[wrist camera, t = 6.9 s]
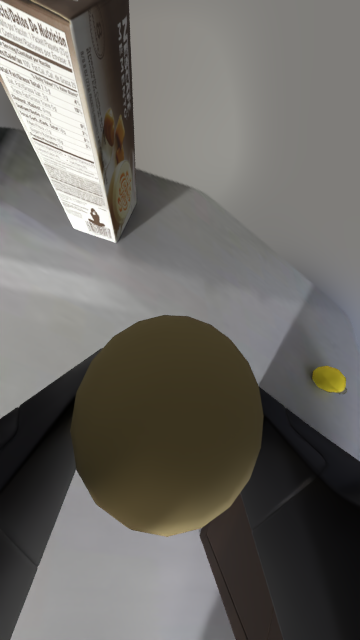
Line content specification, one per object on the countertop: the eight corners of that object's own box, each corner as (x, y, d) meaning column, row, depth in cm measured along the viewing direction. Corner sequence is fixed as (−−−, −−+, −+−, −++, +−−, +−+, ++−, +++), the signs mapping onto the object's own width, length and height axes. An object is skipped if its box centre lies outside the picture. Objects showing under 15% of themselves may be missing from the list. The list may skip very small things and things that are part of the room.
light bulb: (304, 364, 24) (334, 359, 21) (323, 381, 26) (353, 378, 23) (309, 386, 22) (343, 384, 19) (330, 403, 24) (363, 402, 21)
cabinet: (332, 466, 21) (465, 535, 12) (311, 606, 16) (504, 877, 7) (245, 409, 20) (320, 438, 12) (199, 535, 16) (266, 732, 7)
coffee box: (98, 187, 25) (33, -77, 10) (137, 203, 26) (131, -20, 11) (71, 229, 22) (-76, -62, 7) (117, 245, 23) (72, 15, 8)
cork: (125, 340, 14) (80, 257, 4) (190, 351, 15) (293, 309, 5) (105, 418, 12) (-105, 691, 2) (182, 425, 13) (331, 622, 3)
